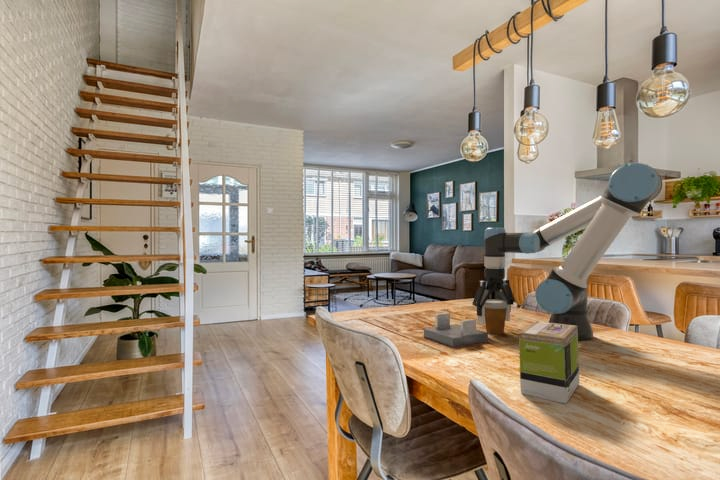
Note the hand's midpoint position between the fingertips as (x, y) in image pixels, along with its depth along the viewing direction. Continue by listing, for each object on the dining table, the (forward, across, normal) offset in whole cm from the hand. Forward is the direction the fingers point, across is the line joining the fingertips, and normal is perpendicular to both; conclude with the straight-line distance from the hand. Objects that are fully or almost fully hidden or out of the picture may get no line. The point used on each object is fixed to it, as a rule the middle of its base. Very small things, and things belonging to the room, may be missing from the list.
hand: (494, 322), depth 149 cm
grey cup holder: (+4, +20, 0) cm, 20 cm away
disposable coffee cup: (+4, 0, 0) cm, 4 cm away
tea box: (+3, +32, +47) cm, 57 cm away
